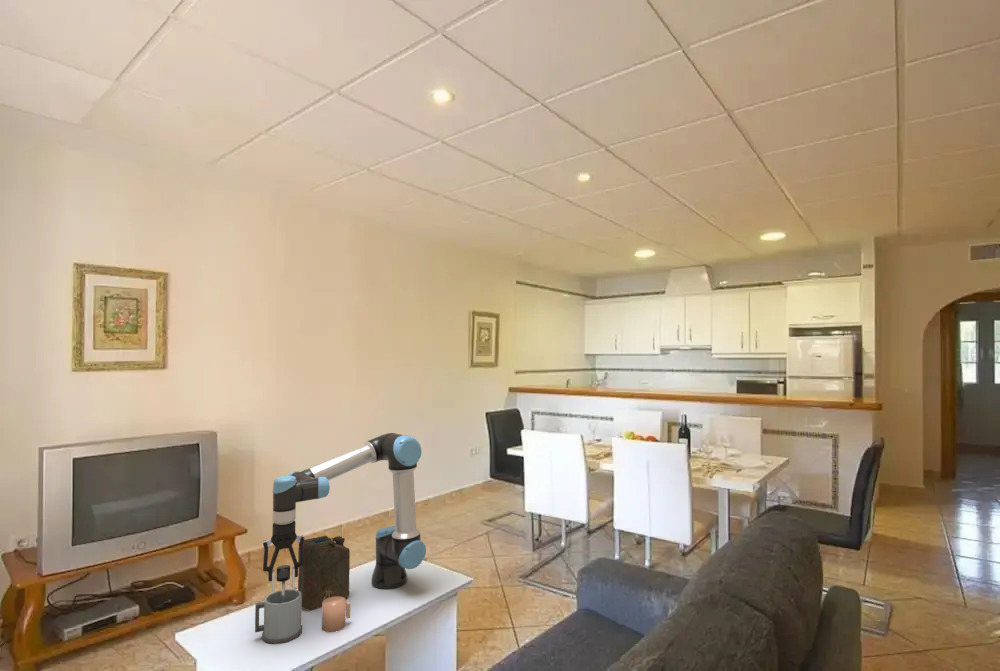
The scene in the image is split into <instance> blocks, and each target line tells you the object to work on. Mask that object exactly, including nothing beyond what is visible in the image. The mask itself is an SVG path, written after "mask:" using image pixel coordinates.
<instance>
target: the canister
mask: <svg viewBox="0 0 1000 671" xmlns="http://www.w3.org/2000/svg"><path fill="white" fill-rule="evenodd" d="M345 541H346V540H345V537H343V536H341V535H339V536H335V537H332V538H331V537H328V535H322V536H317V537H312V538H307V539H304V542H303V559H304V564H303V565H302V566H299V568H298V577H297V590H298V591H300V592H301V595H302V607H301V608H302V609H304V610H306V611H312V610H313V611H314V610H315V609H316V610H317V609H319V608H322V602H323V601H324V600H325V599H327V598H330V597H335V596H340V597H344V598H345V600H346V599H348V597H349V595H350V569H351V568H350V567H351V566H350V564H351V562H350V554H351V553H350V548H349V547H346V546H345V545H344V543H345ZM297 552H298V558H297V559H298V561H297V562H299V561H300V559H299V548H298V551H297Z"/></svg>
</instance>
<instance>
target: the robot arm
mask: <svg viewBox="0 0 1000 671" xmlns="http://www.w3.org/2000/svg"><path fill="white" fill-rule="evenodd" d="M421 457H422V447H421V444H420V442H419V440H418V439H416V438H415V437H413V436H411V435H407V434H401V433H396V432H391V433H390V432H389V433H384V434H381V435H378V436H376V437H373V438H372V439H369V440H367V441H365V442H364V443H363V445H361V446H359V447H355V449H352V450H350V451H346V452H345V453H342V454H340V455H337V456H336V457H333V458H330V459H328V460H326V461H323V462H321V463H319V464H316V465H314V466H312V467H309V468H307V469H303V470H302V471H292V472H289V473H288V475H282V476H278V477H276V478H275V479H274V480H273V486H272V522H273V523H272V536H271V538H270V539H268V540H263V542H262V546H263V548H264V550H263V562H262V563H263V565H262V570H263V572H268V578H267V579H268V582H271V593H273V592H275V581H276V579H275V578H276V577H275V574H276V573H275V569H274V567H275V564H276V561H277V558H278V555H279V553H280V550H283V549H287V550H288V552H289V555H290V557H291V561H292V563H293V566H291V589H294V588H295V586H296V584H295V582H296V580H295V579H296V578H298V576H299V566H302V565H303V564H304V559H303V542H304V540H305V536H304V535H297V533H296V521H295V520H296V518H297V517H296V516H297V514H296V513H297V511H296V510H297V509H296V508H297V507H296V506H297V503H300V502H307V501H312V500H319V499H323V498H326V497H328V495H329V494H330V488H331V487H330V482H329V481H331V480H333V479H335V478H338V477H340V476H341V475H344V474H347V473H349V472H351V471H354V470H355V469H357V468H361V467H362V466H364V465H367V464H369V463H371V464H376V463H377V462H382V461H387V462H388V471H389V472H391V473H392V486H393V487H392V490H393V506H394V507H393V509H394V525H391V526H390V525H389V526H384V527H380V528H378V529H377V530H376V532H375V534H376V535H375V566H374V570H373V573H372V575H371V585H372V587H374V588H375V589H376V588H377V589H381V590H390V589H397V588H399V587H402V586H404V585H405V584H407V582H408V574H407V570H413V569H416V568H418V567H419V566H420V565H421V564H422V562H423V561H424V560H425V558H426V555H427V548H426V547H427V546H426V544H425V543H424V542H423V540H422V541H421V530H420V529H419V528H417V515H416V514H417V513H416V496H415V477H414V474H415V473H414V471H415V470H416V469H417V468H418V462H419V461H420V459H421ZM296 540H297V543H298V549H299V550H298V551H299V559H300V561H299V562H298V561H297V556H296V554H295V553H296V552H295V550H294V548H293V544H294V543H295V541H296ZM271 544H272V545H273V546H274V550H273V552H272V553H273V554H272V557H271V559H270V562H269V565H268V558H269V547H270V546H271ZM406 569H407V570H406Z"/></svg>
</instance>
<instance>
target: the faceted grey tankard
mask: <svg viewBox="0 0 1000 671" xmlns="http://www.w3.org/2000/svg"><path fill="white" fill-rule="evenodd" d="M263 599H264V600H263V601H262V602H255V610H254V611H255V613H254V614H255V616H254V625H255V626H254V633H260V632H262V634H261V636H262V637H261V640H262V641H263V643H266V644H268V645H282V644H287V643H290V642H292V641H294V640H296V639H298V638H299V637H300V636H301V635H302V633H303V624H302V608H303V607H302V595H301V592H300V591H298V589H294V588H287V589H286V588H285V603H281V600H282V589H280V590H277V591H276V590H275V591H273V592H270V593H269V594H267V595H266V596H265V597H264V598H263ZM260 609H263V613H264V614H263V624H261V625H260Z"/></svg>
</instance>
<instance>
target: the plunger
mask: <svg viewBox="0 0 1000 671" xmlns="http://www.w3.org/2000/svg"><path fill="white" fill-rule="evenodd" d="M290 579H291V565H288V564H283V565H279V566H277V567H276V581H277V582H279V583H280V582H281V590H282V600H281V603H285V589H286V588H285V587H286V583H285V582H287V581H289V580H290Z"/></svg>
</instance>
